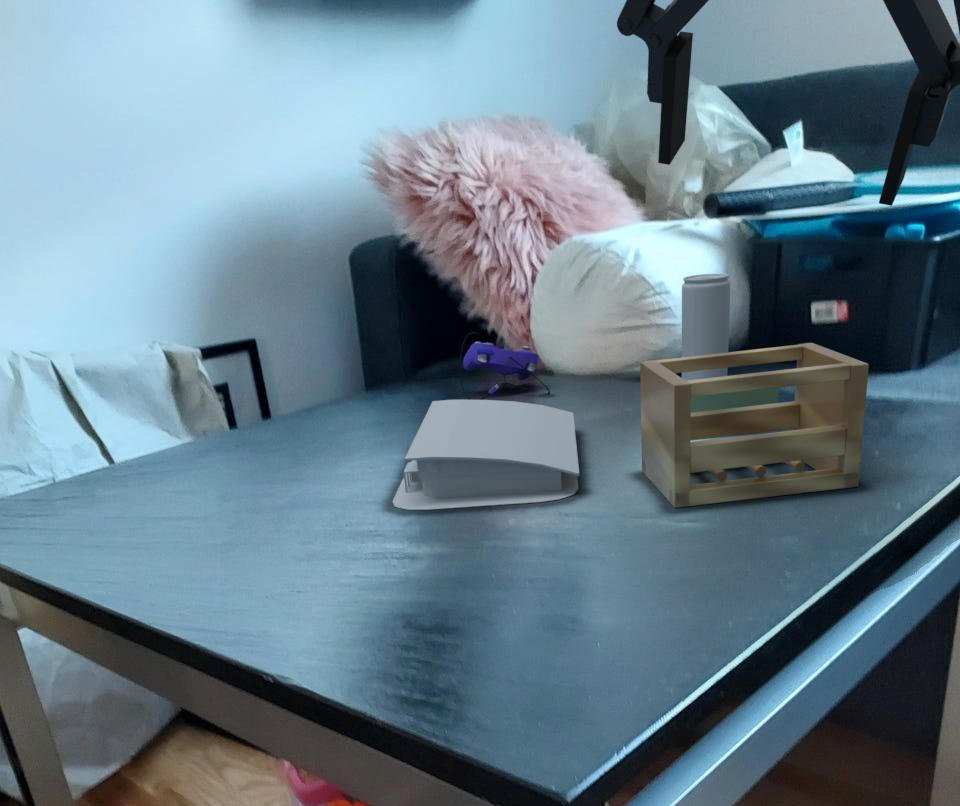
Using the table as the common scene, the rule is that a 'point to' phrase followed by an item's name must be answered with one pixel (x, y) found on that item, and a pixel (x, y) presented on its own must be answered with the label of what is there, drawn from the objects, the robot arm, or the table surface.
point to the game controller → (500, 361)
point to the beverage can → (705, 320)
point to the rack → (753, 425)
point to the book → (489, 456)
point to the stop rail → (734, 400)
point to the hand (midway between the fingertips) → (777, 171)
